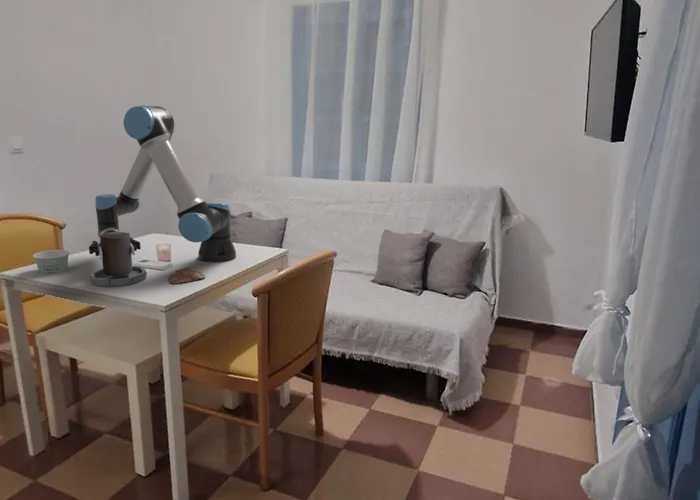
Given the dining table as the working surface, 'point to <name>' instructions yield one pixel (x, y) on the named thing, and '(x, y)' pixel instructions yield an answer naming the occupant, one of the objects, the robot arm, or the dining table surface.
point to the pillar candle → (116, 253)
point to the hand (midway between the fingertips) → (117, 253)
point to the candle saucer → (118, 278)
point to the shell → (185, 276)
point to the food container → (52, 261)
